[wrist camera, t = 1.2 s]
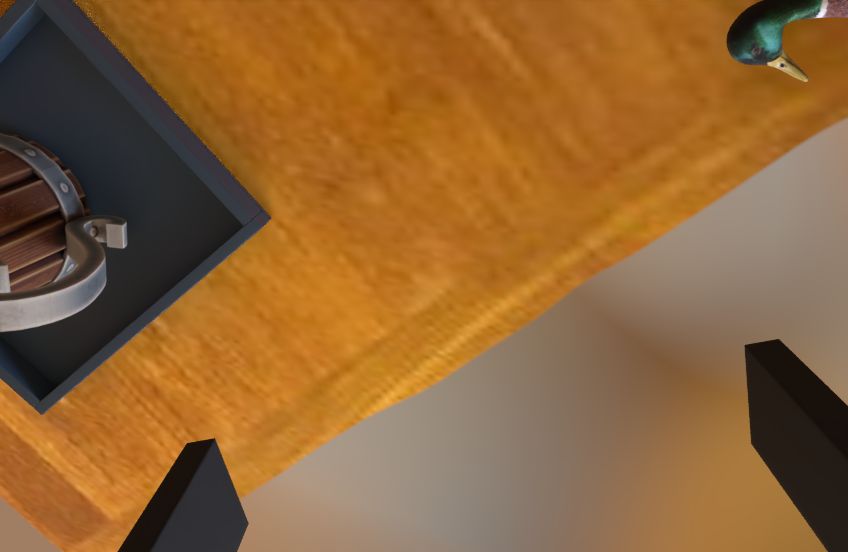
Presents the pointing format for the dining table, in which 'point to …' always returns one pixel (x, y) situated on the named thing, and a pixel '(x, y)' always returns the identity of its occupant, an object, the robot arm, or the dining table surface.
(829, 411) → the robot arm
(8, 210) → the mug
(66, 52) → the tray
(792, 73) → the decorative duck model
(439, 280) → the dining table surface
